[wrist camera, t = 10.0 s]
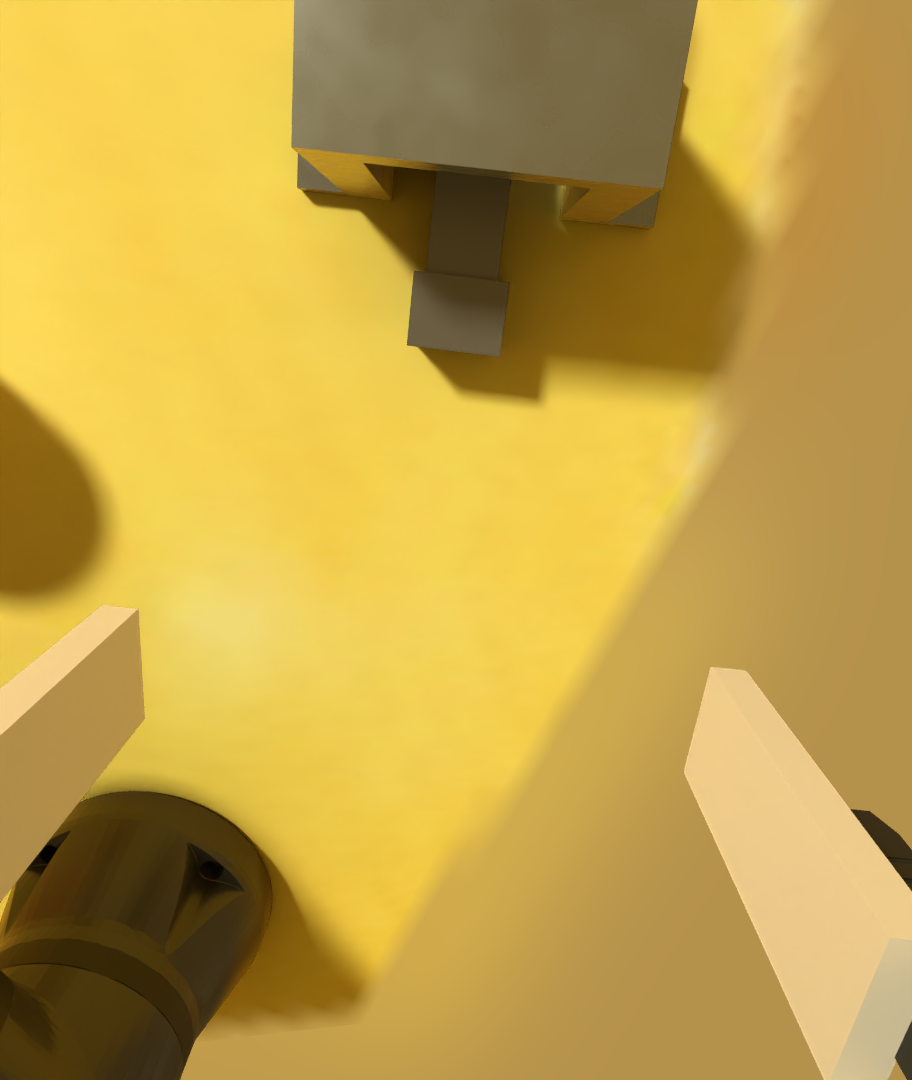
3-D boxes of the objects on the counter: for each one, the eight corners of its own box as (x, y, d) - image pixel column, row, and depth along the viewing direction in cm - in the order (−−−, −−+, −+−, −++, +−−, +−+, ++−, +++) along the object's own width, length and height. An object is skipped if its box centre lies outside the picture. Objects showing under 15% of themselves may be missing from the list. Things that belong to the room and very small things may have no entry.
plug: (402, 339, 32) (384, 349, 25) (446, -144, 26) (437, -295, 19) (507, 353, 32) (516, 366, 26) (574, -125, 26) (609, -270, 20)
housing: (301, 190, 30) (226, 139, 21) (305, 29, 28) (224, -107, 19) (648, 229, 30) (727, 196, 21) (676, 72, 28) (777, -41, 19)
